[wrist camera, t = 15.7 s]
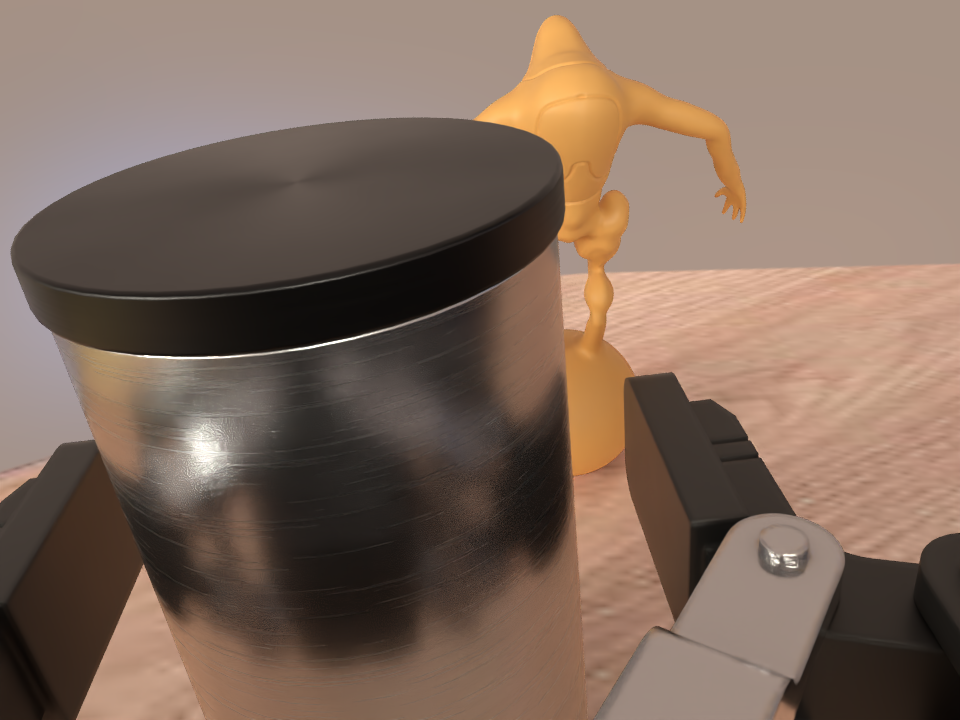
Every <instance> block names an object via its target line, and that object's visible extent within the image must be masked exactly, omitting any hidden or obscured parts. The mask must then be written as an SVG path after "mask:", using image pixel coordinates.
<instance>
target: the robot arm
mask: <svg viewBox="0 0 960 720" xmlns="http://www.w3.org/2000/svg"><path fill="white" fill-rule="evenodd" d="M624 430H625V463H626V473H627V480H628V485H629V490H630V494H631V497H632V501H633V503H634V506H635V509H636V512H637V515H638V518H639V521H640V523H641V526H642V529H643V532H644V535H645V538H646V541H647V544H648V546H649V549H650V552H651V555H652V558H653V561H654V564H655V566H656V569H657V572H658V575H659V578H660V581H661V584H662V586H663V589H664V592H665V595H666V598H667V601H668V604H669V606H670V609H671V612H672V615H673V618H674V621H675V624H674V626H673V627H672V628H671V630H670V631H669V630H666V629H664V628H661V627H659V626H655V627H653V628H652V629H650V630H649V631H648V633H647V634H646V635H645V636H644V638H643V639H642V641H641V642H640V644H639V646H638V647H637V649H636V651H635V652H634V654H633V655H632V657H631V659H630V660H629V662H628V664H627V665H626V667H625V669H624V670H623V672H622V674H621V675H620V677H619V678H618V680H617V682H616V683H615V685H614V687H613V688H612V690H611V692H610V693H609V695H608V697H607V698H606V700H605V701H604V703H603V705H602V706H601V708H600V710H599V711H598V713H597V715H596V716H595V718H594V720H960V533H956V534H949V535H945V536H942V537H939V538H937V539H935V540H933V541H931V542H930V543H929V544H928V545H927V546H926V547H925V548H924V550H923V551H922V554H921V558H920V563H919V564H916V563H907V562H898V561H889V560H881V559H872V558H866V557H860V556H856V555H852V554H849V553H846V552H843V548H842V547H841V545H840V543H839V542H838V541H837V539H836V538H835V537H834V536H833V535H832V534H831V533H829V532H828V531H827V530H826V529H824V528H823V527H821V526H819V525H818V524H816V523H814V522H811V521H809V520H806V519H804V518H801V517H797V516H796V514H795V513H794V511H793V510H792V508H791V506H790V505H789V503H788V501H787V500H786V498H785V496H784V495H783V493H782V492H781V490H780V488H779V487H778V485H777V483H776V482H775V480H774V478H773V477H772V475H771V474H770V472H769V470H768V469H767V467H766V465H765V464H764V462H763V460H762V459H761V458H759V457H758V452H757V451H756V449H755V447H754V446H753V444H752V442H751V441H748V436H747V434H746V433H745V431H744V429H743V428H742V426H741V424H740V423H739V421H738V420H737V418H736V416H735V415H733V414H732V413H730V412H729V411H727V410H726V409H724V408H723V407H722V406H720V405H719V404H717V403H716V402H714V401H713V400H711V399H709V400H700V401H692V402H689V400H688V398H687V397H686V395H685V393H684V391H683V389H682V387H681V385H680V384H679V382H678V380H677V378H676V376H675V375H674V373H672V372H670V373H662V374H653V375H645V376H636V377H628V378H625V381H624ZM142 566H143V560H142V558H141V555H140V553H139V550H138V548H137V545H136V543H135V540H134V538H133V535H132V533H131V530H130V528H129V525H128V522H127V520H126V517H125V515H124V512H123V510H122V507H121V505H120V502H119V500H118V497H117V495H116V492H115V490H114V487H113V485H112V482H111V480H110V477H109V475H108V472H107V470H106V467H105V465H104V462H103V460H102V457H101V455H100V452H99V450H98V447H97V444H96V442H95V440H88V441H79V442H71V443H64V444H62V445H60V446H59V447H58V448H57V449H56V451H55V452H54V454H53V455H52V456H51V458H50V459H49V461H48V462H47V464H46V465H45V467H44V468H43V470H42V471H41V472H40V474H39V475H38V477H37V478H33V479H29V480H28V481H27V482H25V483H24V484H23V485H22V486H20V487H19V488H18V489H17V490H15V491H14V492H13V493H12V494H10V495H9V496H8V497H7V498H5V499H4V500H3V501H2V502H1V503H0V720H76V718H77V715H78V713H79V711H80V708H81V706H82V704H83V701H84V699H85V697H86V695H87V692H88V690H89V688H90V685H91V683H92V681H93V678H94V676H95V674H96V672H97V669H98V667H99V665H100V662H101V660H102V658H103V655H104V653H105V651H106V649H107V646H108V644H109V642H110V639H111V637H112V635H113V632H114V630H115V628H116V625H117V623H118V621H119V619H120V616H121V614H122V612H123V609H124V607H125V605H126V602H127V600H128V598H129V596H130V593H131V591H132V589H133V586H134V584H135V582H136V579H137V577H138V575H139V573H140V570H141V568H142Z"/></svg>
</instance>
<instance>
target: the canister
mask: <svg viewBox="0 0 960 720" xmlns="http://www.w3.org/2000/svg"><path fill="white" fill-rule="evenodd" d="M564 216H565V191H564V174H563V164H562V161H561V157H560V155H559V153H558V152H557V150H556V149H555V148H554V147H553V145H552V144H550V143H549V142H547V141H546V140H544V139H543V138H541V137H539V136H537V135H535V134H532V133H530V132H528V131H524V130H521V129H518V128H514V127H511V126H506V125H501V124H496V123H491V122H483V121H475V120H464V119H452V118H389V119H388V118H387V119H371V120H357V121H345V122H336V123H326V124H319V125H312V126H304V127H297V128H290V129H284V130H278V131H271V132H266V133H261V134H255V135H250V136H245V137H240V138H236V139H231V140H227V141H222V142H217V143H213V144H209V145H205V146H201V147H197V148H193V149H189V150H186V151H182V152H179V153H175V154H172V155H168V156H165V157H161V158H158V159H155V160H152V161H149V162H145V163H142V164H139V165H136V166H134V167H131V168H128V169H125V170H123V171H120V172H117V173H114V174H112V175H110V176H107V177H105V178H102V179H100V180H97V181H95V182H93V183H91V184H89V185H86V186H84V187H82V188H80V189H78V190H76V191H74V192H72V193H70V194H68V195H67V196H65V197H63V198H61V199H59V200H58V201H56V202H54V203H52V204H51V205H50V206H48V207H47V208H45V209H44V210H42V211H41V212H39V213H38V214H36V215H35V216H34V217H33V218H32V219H31V220H30V221H28V222H27V223H26V224H25V225H24V226H23V227H22V228H21V230H20V231H19V233H18V234H17V235H16V236H15V238H14V241H13V244H12V247H11V259H12V265H13V267H14V270H15V272H16V274H17V277H18V279H19V282H20V284H21V287H22V289H23V292H24V294H25V297H26V299H27V302H28V304H29V306H30V309H31V311H32V312H33V314H34V315H35V317H36V318H37V319H38V320H39V322H40V323H41V324H42V325H44V326H45V327H46V328H48V329H49V330H50V331H52V334H53V336H54V339H55V341H56V344H57V346H58V349H59V351H60V354H61V356H62V359H63V361H64V364H65V366H66V369H67V372H68V374H69V377H70V379H71V381H72V384H73V387H74V389H75V392H76V394H77V396H78V399H79V401H80V404H81V406H82V409H83V411H84V414H85V417H86V419H87V422H88V424H89V427H90V429H91V432H92V434H93V437H94V439H95V442H96V444H97V447H98V450H99V452H100V455H101V457H102V460H103V462H104V465H105V467H106V470H107V472H108V475H109V477H110V480H111V482H112V485H113V487H114V490H115V492H116V495H117V497H118V500H119V502H120V505H121V507H122V510H123V512H124V515H125V517H126V520H127V522H128V525H129V528H130V530H131V533H132V535H133V538H134V540H135V543H136V545H137V548H138V550H139V553H140V555H141V558H142V560H143V563H144V565H145V568H146V570H147V573H148V575H149V578H150V580H151V583H152V585H153V588H154V590H155V593H156V595H157V598H158V601H159V603H160V606H161V608H162V611H163V613H164V616H165V618H166V621H167V623H168V626H169V628H170V631H171V633H172V636H173V638H174V641H175V643H176V646H177V648H178V651H179V653H180V656H181V658H182V661H183V663H184V666H185V668H186V671H187V673H188V676H189V679H190V681H191V684H192V686H193V689H194V691H195V694H196V696H197V699H198V701H199V704H200V706H201V709H202V711H203V714H204V716H205V719H206V720H588V713H587V697H586V681H585V665H584V649H583V633H582V617H581V601H580V584H579V568H578V552H577V536H576V520H575V504H574V488H573V472H572V456H571V439H570V423H569V407H568V391H567V375H566V359H565V343H564V327H563V311H562V294H561V278H560V263H559V246H558V232H559V231H560V229H561V227H562V225H563V222H564Z"/></svg>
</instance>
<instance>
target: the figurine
mask: <svg viewBox="0 0 960 720" xmlns="http://www.w3.org/2000/svg"><path fill="white" fill-rule="evenodd" d="M474 120H475V121H483V122H491V123H496V124H501V125H506V126H511V127H514V128H518V129H521V130H524V131H528V132H530V133H532V134H535V135H537V136H539V137H541V138H543V139H544V140H546V141H547V142H549V143H550V144H552V145H553V147H554V148H555V149H556V150H557V152H558V153H559V155H560V157H561V161H562V164H563V174H564V191H565V216H564V222H563V225H562V227H561V229H560V231H559V232H558V240H559V241H563V242H566V243H571V242H574V245H575V248H576V250H577V252H578V254H579V255H580V256H581V257H583V258H585V259H587V260H588V279H587V282H586V285H585V289H584V297H585V301H586V303H587V305H588V307H589V309H590V318H589V320H588V322H587V324H586V329H585V332H583V331H578V330H567V329H564V343H565V359H566V375H567V391H568V407H569V423H570V439H571V456H572V472H573V476H577V475H583V474H587V473H590V472H593V471H595V470H597V469H600V468H601V467H603V466H605V465H607V464H608V463H609V462H611V461H612V460H613V459H614V458H616V457H617V456H618V455H619V454H620V453H621V452H622V450H623V449H624V448H625V430H624V381H625V378H628V377H635V376H634V373H633V371H632V369H631V367H630V366H629V364H628V363H627V361H626V360H625V358H624V357H623V356H622V355H621V354H620V353H619V351H618V350H616V349H615V348H614V347H613V346H612V345H611V344H609V343H608V342H606V341H605V340H603V336H604V332H605V327H606V313H607V311H608V309H609V307H610V306H611V304H612V301H613V296H614V292H613V287H612V284H611V282H610V280H609V279H608V278H607V276H606V274H605V272H604V264H605V263H606V262H607V261H609V260H610V259H611V258H612V257H613V256H614V255H615V254H616V252H617V251H618V248H619V246H620V242H621V236H622V234H623V233H624V232H625V230H626V228H627V225H628V219H629V203H628V200H627V199H626V197H625V196H624V195H623V194H622V193H621V192H619V191H617V190H611V191H608V192H607V193H606V194H605V195H604V196H603V197H602V199H601V200H600V197H601V192H602V187H603V186H604V184H605V182H606V180H607V178H608V175H609V172H610V168H611V165H612V161H613V158H614V154H615V153H616V151H617V148H618V145H619V143H620V140H621V138H622V136H623V134H624V132H625V130H626V128H627V127H629V126H632V125H637V124H642V125H649V126H653V127H656V128H659V129H663V130H667V131H671V132H674V133H678V134H682V135H686V136H690V137H696V138H702V139H706V145H707V149H708V151H709V153H710V155H711V157H712V159H713V164H714V168H715V171H716V173H717V175H718V177H719V179H720V180H721V182H722V183H723V184H724V185H725V186H726V187H723V188H722V189H720V190H719V191H718V192H717V193H716V194H715V197H719V196H720V195H725V196H726V197H727V198H726V201H725V205H724V208H723V211H722V213H723V214H724V213H725V212H726V211H727V210H728V208H729V207H730V205H733V215H732V219H733V220H734V219H735V218H736V216H737V214H738V211H739V209H740V212H741V215H740V223H742V222H743V220H744V217H745V212H746V194H745V188H744V186H743V183H742V180H741V176H740V169H739V166H738V164H737V161H736V160H735V157H734V154H733V152H732V149H731V138H730V132H729V129H728V127H727V125H726V124H725V122H724V121H723V120H721V119H720V118H719V117H717V116H716V115H714V114H713V113H711V112H709V111H706V110H704V109H702V108H700V107H697V106H695V105H692V104H690V103H687V102H684V101H681V100H676V99H673V98H670V97H667V96H665V95H663V94H661V93H659V92H658V91H656V90H654V89H653V88H651V87H649V86H648V85H645V84H643V83H640V82H638V81H634V80H631V79H627V78H624V77H622V76H619V75H617V74H615V73H614V72H612V71H611V70H607V68H606V67H605V65H604V64H602V63H601V62H600V61H599V60H598V59H597V58H596V57H595V56H594V55H593V54H592V52H591V51H590V49H589V48H588V46H587V45H586V43H585V42H584V40H583V39H582V37H581V36H580V34H579V32H578V30H577V29H576V27H575V26H574V25H573V24H572V23H571V22H570V21H569V20H568V19H567V18H565V17H563V16H560V15H554V16H551V17H549V18H547V19H546V20H545V21H544V22H543V24H542V25H541V27H540V29H539V31H538V33H537V36H536V39H535V43H534V48H533V52H532V57H531V61H530V64H529V68H528V71H527V73H526V75H525V76H524V78H523V79H522V82H520V83H519V84H518V85H517V86H516V87H515V88H514V89H513V90H512V91H511V92H509V93H508V94H506V95H505V96H503V97H501V98H500V99H498V100H496V101H495V102H494V103H492V104H491V105H490V106H489V107H487V108H486V109H485V110H484V111H483V112H482V113H481V114H480V115H478V116H477V117H476V118H475V119H474ZM599 201H600V202H599Z"/></svg>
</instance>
